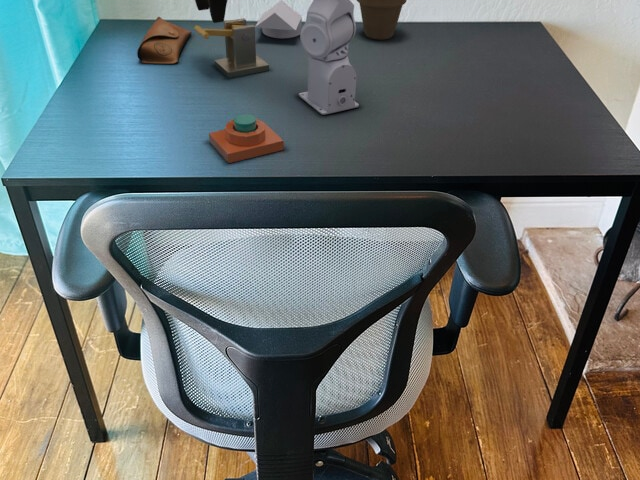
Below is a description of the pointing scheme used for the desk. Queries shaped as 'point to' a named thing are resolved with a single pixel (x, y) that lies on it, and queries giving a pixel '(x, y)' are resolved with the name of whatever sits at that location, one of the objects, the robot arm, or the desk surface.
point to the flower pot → (380, 17)
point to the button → (245, 123)
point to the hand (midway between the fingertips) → (210, 15)
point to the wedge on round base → (280, 21)
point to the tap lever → (215, 31)
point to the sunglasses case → (162, 43)
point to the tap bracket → (240, 51)
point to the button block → (245, 142)
